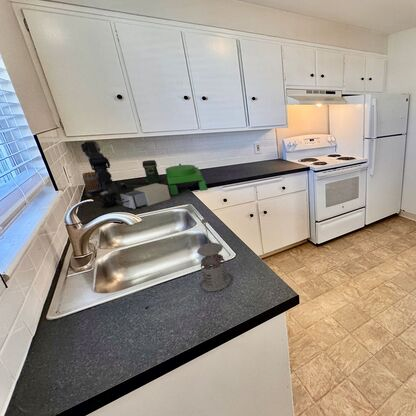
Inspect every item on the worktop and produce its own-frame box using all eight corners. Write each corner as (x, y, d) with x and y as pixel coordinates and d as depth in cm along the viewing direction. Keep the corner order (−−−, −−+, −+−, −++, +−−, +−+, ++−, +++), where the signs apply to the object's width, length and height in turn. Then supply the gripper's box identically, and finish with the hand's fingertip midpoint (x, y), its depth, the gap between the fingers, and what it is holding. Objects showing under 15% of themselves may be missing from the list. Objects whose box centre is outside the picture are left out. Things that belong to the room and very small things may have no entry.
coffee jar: (161, 181, 225) (156, 159, 218) (160, 183, 218) (154, 160, 211) (148, 182, 222) (142, 160, 215) (146, 184, 215) (140, 161, 208)
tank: (202, 179, 229) (198, 160, 223) (207, 189, 200) (203, 168, 194) (169, 183, 217) (165, 163, 211) (170, 195, 189) (165, 172, 183)
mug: (95, 195, 190) (88, 175, 185) (83, 194, 192) (76, 174, 187) (115, 189, 204) (109, 169, 199) (104, 188, 207) (97, 169, 201)
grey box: (149, 205, 170) (145, 191, 166) (137, 202, 175) (133, 188, 172) (170, 198, 182) (167, 185, 178) (159, 196, 187) (155, 183, 184)
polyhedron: (136, 204, 166) (134, 197, 164) (129, 204, 167) (127, 197, 165) (142, 202, 171) (141, 194, 169) (136, 201, 172) (134, 194, 170)
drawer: (125, 211, 159) (121, 199, 156) (115, 208, 164) (111, 196, 161) (155, 202, 174) (152, 190, 171) (145, 199, 179) (142, 188, 176)
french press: (205, 295, 90) (191, 228, 81) (197, 278, 99) (183, 215, 89) (234, 284, 95) (224, 219, 86) (224, 268, 104) (214, 209, 95)
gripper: (91, 183, 140) (100, 211, 146) (129, 175, 155) (136, 200, 161) (81, 181, 145) (90, 208, 151) (118, 173, 160) (126, 198, 166)
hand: (112, 203), depth 157 cm, fingers closed
